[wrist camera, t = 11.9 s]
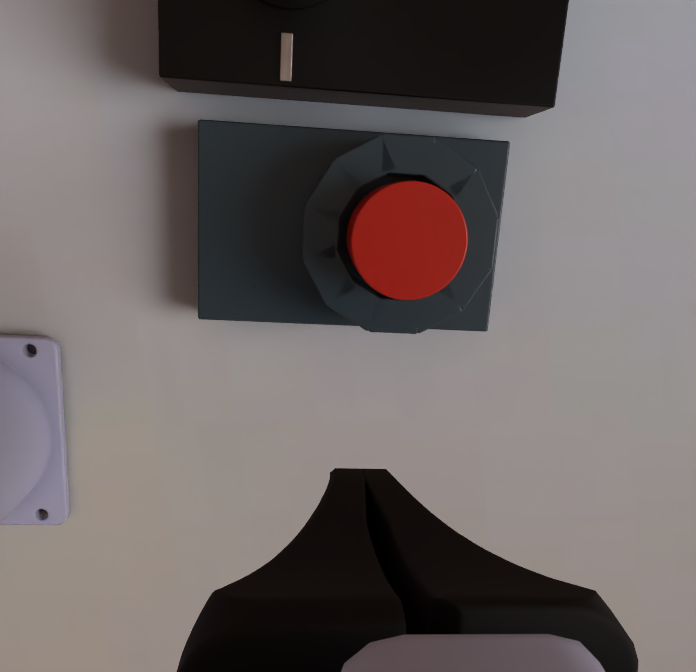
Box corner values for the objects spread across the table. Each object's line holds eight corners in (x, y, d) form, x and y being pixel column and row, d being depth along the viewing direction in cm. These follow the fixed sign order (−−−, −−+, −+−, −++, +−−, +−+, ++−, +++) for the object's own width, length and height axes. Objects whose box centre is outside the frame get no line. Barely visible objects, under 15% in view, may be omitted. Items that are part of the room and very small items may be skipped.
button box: (204, 311, 23) (186, 332, 19) (204, 124, 21) (185, 110, 18) (476, 323, 23) (505, 344, 20) (497, 145, 22) (532, 135, 18)
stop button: (343, 287, 20) (347, 298, 18) (349, 179, 19) (354, 176, 17) (446, 292, 20) (462, 303, 18) (456, 185, 19) (474, 184, 17)
